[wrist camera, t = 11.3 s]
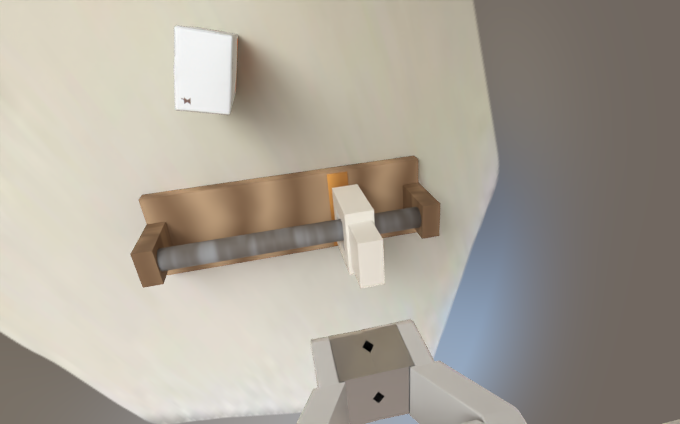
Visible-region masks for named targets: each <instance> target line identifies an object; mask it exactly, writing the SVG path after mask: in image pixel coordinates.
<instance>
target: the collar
mask: <svg viewBox="0 0 680 424" xmlns="http://www.w3.org/2000/svg"><path fill="white" fill-rule="evenodd" d="M332 195H333V206H334V216H335V220H337V219H341V221H342V225H343V236H344V240H343V241H337V243H338V246H339V248H340V251H341V254H342V256H343V259H344V262H345V264H346V267H347V269H348V272H349V275H353V274H355V276H356V278H357V280H358V283H359V285H360V288H366V287H372V286H377V285H382V284H385V277H384V251H383V239H382V237H381V235H380V234H379V232H378V230H377V229H376V227H375V221H374V209H373V208H372V206H371V205H370V203H369V202H368V200H367V198H366V197H365V195H364V194H363V192H362V191H361V189H360V188H359V186H358V185H357V184H355V185H348V186H341V187H335V188H332Z"/></svg>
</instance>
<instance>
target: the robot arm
mask: <svg viewBox="0 0 680 424" xmlns="http://www.w3.org/2000/svg"><path fill="white" fill-rule="evenodd" d="M311 348H312V355H313V361H314V368H315V374H316V381H317V387H318V388H315V389H313V391H312V393H311V395H310V397H309V399H308V401H307V403H306V405H305V407H304V409H303V411H302V413H301V415H300V418H299V419H298V422H297V424H365V423H369V422H373V421H376V420H380V419H385V418H390V417H394V416H399V415H404V414H409V413H410V416H412V418H414V419H415V420H416V421H417V422H418V423H419V424H527V423H526V421H525V420H524V418H523V417H522V415H521V414H520V412H519V411H518V409H517V408H515V407H514V406H512V405H511V404H509V403H507V402H506V401H504V400H502V399H501V398H499V397H498V396H496V395H494V394H493V393H491V392H489V391H488V390H486V389H485V388H483V387H481V386H480V385H478V384H477V383H475V382H473V381H471V380H470V379H468V378H467V377H465V376H463V375H462V374H460V373H459V372H457V371H455V370H454V369H452V368H451V367H449V366H447V365H446V364H444V363H442V362H441V361H434V360H433V358H432V356H431V354H430V352H429V350H428V348H427V346H426V344H425V343H424V341H423V339H422V337H421V335H420V333H419V331H418V329H417V327H416V326H415V324H414V322H413V321H412V320H411V319H409V320H405V321H400V322H395V323H391V324H386V325H381V326H377V327H372V328H368V329H363V330H359V331H354V332H348V333H343V334H337V335H332V336H328V337H323V338H317V339H311ZM664 424H680V419H679V420H675V421H671V422H668V423H664Z"/></svg>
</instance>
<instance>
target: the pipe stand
mask: <svg viewBox="0 0 680 424" xmlns="http://www.w3.org/2000/svg"><path fill="white" fill-rule="evenodd" d="M355 184H357V185H358V186H359V188H360V189H361V191H362V192H363V194H364V195H365V197H366V198H367V200H368V202H369V203H370V205H371V206H372V208H373V209H374V221H375V227H376V229H377V230H378V232H379V234H380V235H381V237H382V238H386V237H392V236H397V235H403V234H409V233H415V232H418V234H419V235H420V236H421V237H422V239H423V238H428V237H434V236H439V225H440V203H439V202H438V201H437V200H436V199H435V198H434V197H433V196H432V195H431V194H430V193H429V192H428V191H426V190H425V189H424V188H423V187H422V186H421V185H420V184H419V183H418V159H417V158H416V157H415V156H408V157H401V158H394V159H388V160H381V161H374V162H367V163H360V164H353V165H346V166H339V167H332V168H325V169H318V170H311V171H304V172H297V173H291V174H284V175H277V176H270V177H263V178H256V179H249V180H242V181H235V182H228V183H221V184H214V185H207V186H200V187H194V188H187V189H180V190H173V191H166V192H159V193H152V194H145V195H142V196H141V197H140V199H139V203H140V206H141V209H142V211H143V214H144V217H145V220H146V223H147V225H146V227H145V229H144V231H143V232H142V234H141V236H140V238H139V240H138V242H137V243H136V245H135V247H134V249H133V251H132V252H131V257H132V260H133V262H134V265H135V268H136V270H137V273H138V276H139V278H140V281H141V284H142V286H143V287H149V286H155V285H160V284H164V281H165V278H166V275H171V274H177V273H183V272H189V271H195V270H200V269H206V268H212V267H218V266H224V265H229V264H235V263H241V262H247V261H253V260H258V259H264V258H270V257H276V256H282V255H287V254H293V253H299V252H305V251H311V250H316V249H322V248H328V247H334V246H338V243H337V241H343V240H344V236H343V225H342V221H341V219H337V220H335V216H334V206H333V195H332V188H335V187H341V186H348V185H355Z"/></svg>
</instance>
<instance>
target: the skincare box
mask: <svg viewBox="0 0 680 424" xmlns="http://www.w3.org/2000/svg"><path fill="white" fill-rule="evenodd" d="M237 50H238V34H234V33H228V32H223V31H217V30H211V29H205V28H199V27H186V26H179V25H176V26H175V27H174V90H175V109H176V110H178V111H191V112H202V113H212V114H223V115H230V113H231V110H232V106H233V102H234V98H235V95H236V76H237Z"/></svg>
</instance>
